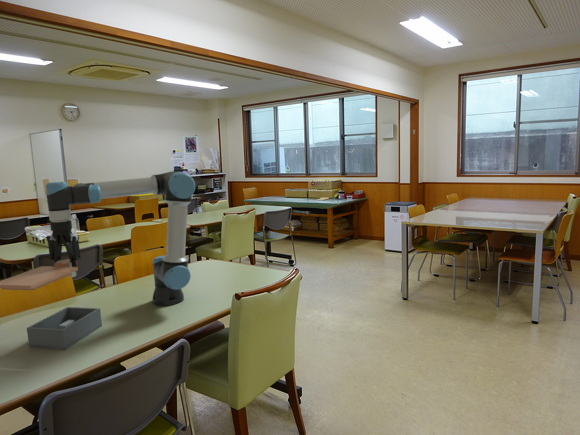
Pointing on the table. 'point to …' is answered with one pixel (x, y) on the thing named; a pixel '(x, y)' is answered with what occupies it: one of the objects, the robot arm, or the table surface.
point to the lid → (38, 276)
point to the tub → (64, 328)
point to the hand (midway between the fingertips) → (67, 276)
